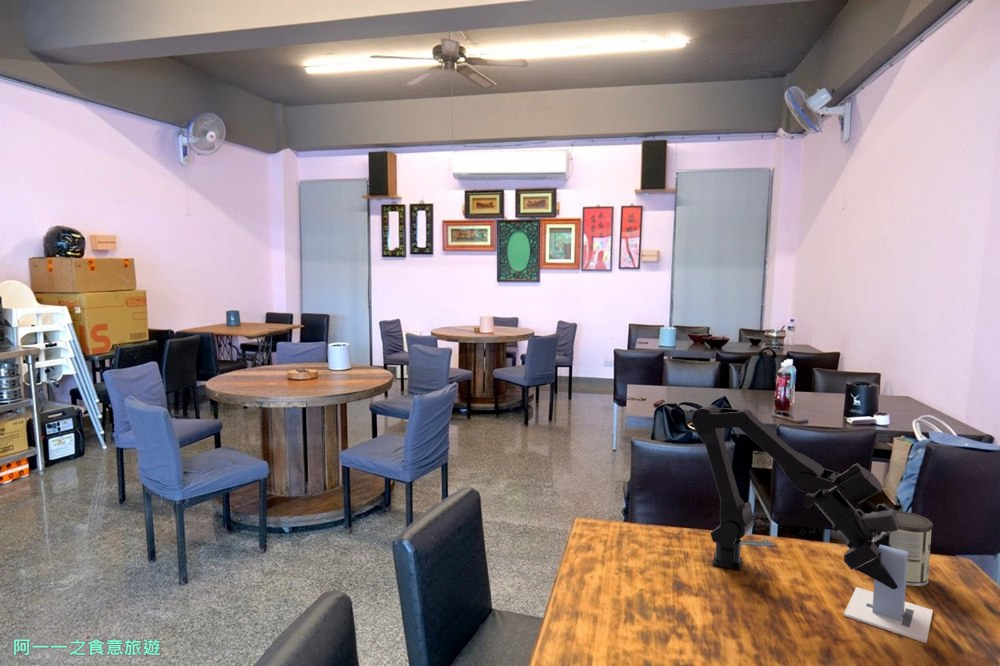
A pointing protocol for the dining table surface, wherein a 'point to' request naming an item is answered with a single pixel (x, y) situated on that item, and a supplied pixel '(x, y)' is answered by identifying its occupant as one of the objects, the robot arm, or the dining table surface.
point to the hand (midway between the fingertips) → (899, 579)
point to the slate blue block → (885, 597)
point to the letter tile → (910, 626)
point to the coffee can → (914, 545)
